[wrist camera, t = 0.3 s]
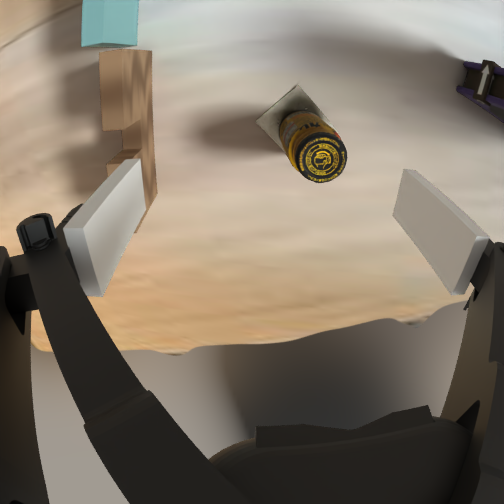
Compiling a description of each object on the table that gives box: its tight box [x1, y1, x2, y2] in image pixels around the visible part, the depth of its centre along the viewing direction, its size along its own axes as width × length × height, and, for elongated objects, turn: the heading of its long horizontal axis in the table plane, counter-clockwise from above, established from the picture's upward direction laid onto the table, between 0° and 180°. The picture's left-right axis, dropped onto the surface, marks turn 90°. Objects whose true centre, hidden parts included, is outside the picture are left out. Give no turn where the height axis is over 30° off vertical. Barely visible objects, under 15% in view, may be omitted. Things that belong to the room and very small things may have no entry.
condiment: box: [255, 85, 347, 183], centre depth 34 cm, size 7×8×12 cm
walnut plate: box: [99, 49, 157, 233], centre depth 33 cm, size 20×2×11 cm, turn 177°
